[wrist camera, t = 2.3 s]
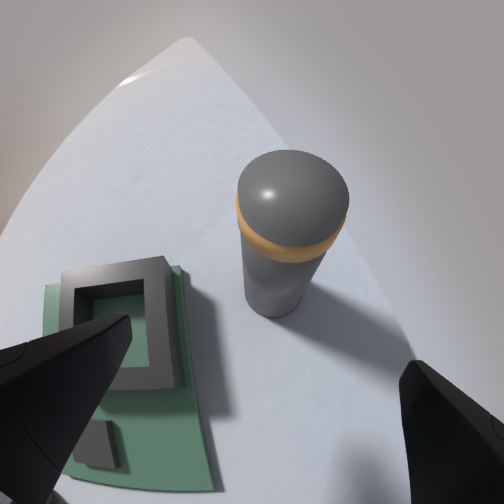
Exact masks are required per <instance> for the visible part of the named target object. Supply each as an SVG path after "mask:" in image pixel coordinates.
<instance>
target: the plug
mask: <svg viewBox="0 0 504 504" xmlns="http://www.w3.org/2000/svg"><path fill="white" fill-rule="evenodd" d="M348 206H349V192H348V189H347V186H346V183H345V181H344V179H343V178H342V176H341V175H340V173H339V172H338V171H337V170H336V169H335V168H334V167H333V166H332V165H330V164H329V163H328V162H326V161H325V160H323V159H321V158H320V157H317V156H315V155H313V154H310V153H307V152H302V151H297V150H278V151H273V152H269V153H266V154H263V155H261V156H259V157H257V158H256V159H254V160H253V161H252V162H250V163H249V164H248V165H247V166H246V167H245V169H244V170H243V172H242V173H241V176H240V178H239V182H238V189H237V193H236V209H237V221H238V226H239V229H240V233H241V247H242V261H243V275H244V289H245V297H246V300H247V302H248V304H249V306H250V307H251V308H252V309H253V310H254V311H255V312H256V313H258V314H260V315H262V316H265V317H269V318H277V317H282V316H284V315H286V314H288V313H290V312H291V311H292V310H293V309H294V308H295V307H296V305H297V304H298V302H299V300H300V299H301V297H302V295H303V293H304V292H305V290H306V288H307V286H308V284H309V283H310V281H311V279H312V277H313V275H314V274H315V272H316V270H317V268H318V266H319V265H320V263H321V261H322V259H323V257H324V255H325V253H326V252H327V250H328V249H329V248H330V247H331V246H332V244H333V243H334V241H335V239H336V238H337V236H338V234H339V232H340V230H341V228H342V226H343V224H344V222H345V219H346V213H347V210H348Z"/></svg>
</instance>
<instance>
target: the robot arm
mask: <svg viewBox="0 0 504 504" xmlns="http://www.w3.org/2000/svg"><path fill="white" fill-rule="evenodd" d="M132 338H133V334H132V326H131V318H130V316H129V315H128V314H125V313H122V312H115V313H112V314H109V315H107V316H104V317H101V318H98V319H95V320H92V321H89V322H86V323H83V324H80V325H77V326H74V327H71V328H68V329H65V330H62V331H59V332H56V333H53V334H50V335H47V336H44V337H41V338H37V339H34V340H31V341H29V342H25V343H22V344H19V345H16V346H12V347H9V348H6V349H2V350H0V504H11V503H12V501H14V502H16V503H17V504H46V503H47V501H48V499H49V497H50V495H51V493H52V491H53V489H54V487H55V485H56V483H57V481H58V479H59V477H60V475H61V472H62V471H63V469H64V467H65V465H66V463H67V461H68V459H69V457H70V455H71V453H72V452H73V450H74V448H75V446H76V444H77V442H78V441H79V439H80V437H81V435H82V433H83V432H84V430H85V428H86V426H87V424H88V423H89V421H90V419H91V417H92V416H93V414H94V412H95V410H96V409H97V407H98V405H99V404H100V402H101V400H102V399H103V397H104V395H105V393H106V392H107V390H108V388H109V387H110V385H111V383H112V382H113V380H114V378H115V376H116V374H117V372H118V370H119V368H120V366H121V364H122V361H123V359H124V357H125V355H126V353H127V351H128V349H129V347H130V344H131V342H132ZM399 393H400V404H401V418H402V426H403V433H404V439H405V446H406V453H407V461H408V470H409V479H410V491H411V504H504V424H503V423H502V422H501V421H499V420H498V419H497V418H496V417H494V416H493V415H491V414H490V413H489V412H488V411H487V410H485V409H484V408H483V407H481V406H480V405H479V404H478V403H476V402H475V401H474V400H473V399H471V398H470V397H469V396H467V395H466V394H465V393H464V392H462V391H461V390H460V389H458V388H457V387H456V386H454V385H453V384H452V383H451V382H449V381H448V380H447V379H445V378H444V377H443V376H441V375H440V374H439V373H438V372H436V371H435V370H434V369H432V368H431V367H430V366H428V365H427V364H426V363H424V362H423V361H421V360H411V361H410V362H409V363H408V365H407V367H406V368H405V370H404V372H403V374H402V376H401V377H400V380H399Z"/></svg>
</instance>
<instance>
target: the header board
mask: <svg viewBox="0 0 504 504" xmlns="http://www.w3.org/2000/svg"><path fill="white" fill-rule="evenodd" d="M115 312H122V313H125V314H128V315H129V316H130V318H131V326H132V334H133V338H132V342H131V344H130V347H129V349H128V351H127V353H126V355H125V357H124V359H123V361H122V364H121V366H120V368H119V370H118V372H117V374H116V376H115V378H114V380H113V382H112V383H111V385H110V387H109V388H108V390H107V392H106V393H105V395H104V397H103V399H102V400H101V402H100V404H99V405H98V407H97V409H96V410H95V412H94V414H93V416H92V417H91V419H90V421H89V423H88V424H87V426H86V428H85V430H84V432H83V433H82V435H81V437H80V439H79V441H78V442H77V444H76V446H75V448H74V450H73V452H72V453H71V455H70V457H69V459H68V461H67V463H66V465H65V467H64V469H63V471H62V472H61V474H64V475H68V476H72V477H76V478H80V479H84V480H89V481H93V482H99V483H104V484H110V485H116V486H123V487H131V488H140V489H152V490H172V491H203V490H214V488H215V485H214V481H213V477H212V472H211V468H210V464H209V459H208V454H207V450H206V445H205V440H204V435H203V430H202V425H201V419H200V414H199V408H198V402H197V396H196V390H195V383H194V377H193V370H192V363H191V355H190V348H189V340H188V331H187V322H186V313H185V302H184V291H183V279H182V269H181V267H180V265H177V266H170V265H169V264H168V262H167V261H166V259H165V257H164V256H158V257H152V258H145V259H139V260H133V261H127V262H121V263H115V264H109V265H102V266H96V267H90V268H85V269H79V270H73V271H67V272H62V275H61V283H58V284H51V285H45V295H44V310H43V337H44V336H47V335H50V334H53V333H56V332H59V331H62V330H65V329H68V328H71V327H74V326H77V325H80V324H83V323H86V322H89V321H92V320H95V319H98V318H101V317H104V316H107V315H109V314H112V313H115Z"/></svg>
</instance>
